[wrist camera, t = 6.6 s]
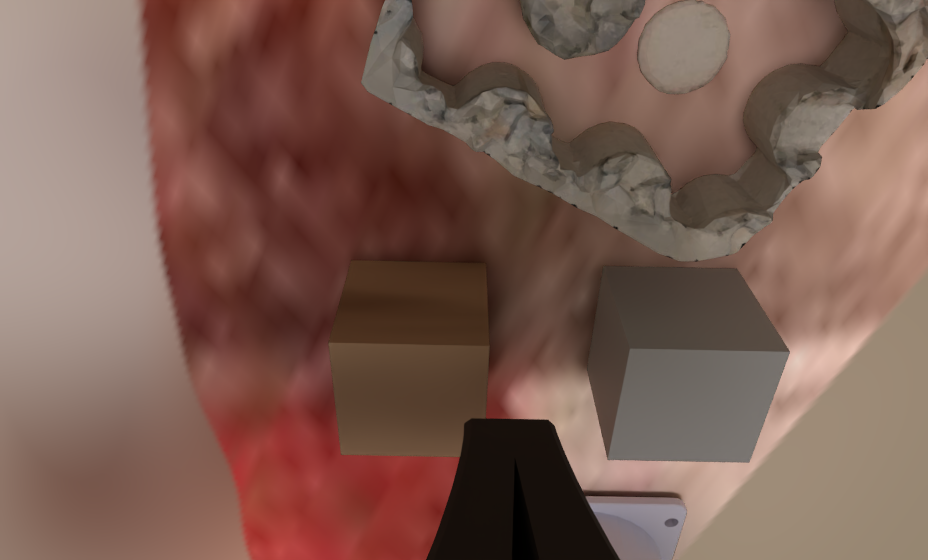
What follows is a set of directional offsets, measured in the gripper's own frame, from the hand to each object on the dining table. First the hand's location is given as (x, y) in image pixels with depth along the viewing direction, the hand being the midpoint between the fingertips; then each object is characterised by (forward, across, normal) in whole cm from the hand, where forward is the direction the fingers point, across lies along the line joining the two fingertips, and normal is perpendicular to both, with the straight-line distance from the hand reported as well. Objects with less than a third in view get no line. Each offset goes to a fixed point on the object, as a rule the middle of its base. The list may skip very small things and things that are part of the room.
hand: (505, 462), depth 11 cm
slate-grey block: (+10, -6, +4) cm, 12 cm away
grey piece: (+10, -3, -5) cm, 11 cm away
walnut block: (+10, +2, +4) cm, 10 cm away
